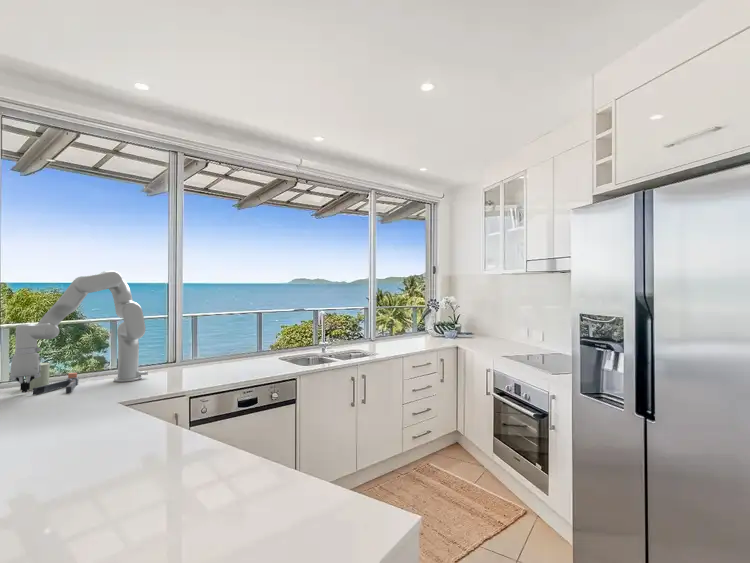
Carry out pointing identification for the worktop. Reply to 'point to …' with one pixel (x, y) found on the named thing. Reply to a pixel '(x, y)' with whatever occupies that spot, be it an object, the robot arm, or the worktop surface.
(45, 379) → the can
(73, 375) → the tab
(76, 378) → the tongs fixed
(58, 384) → the bar
